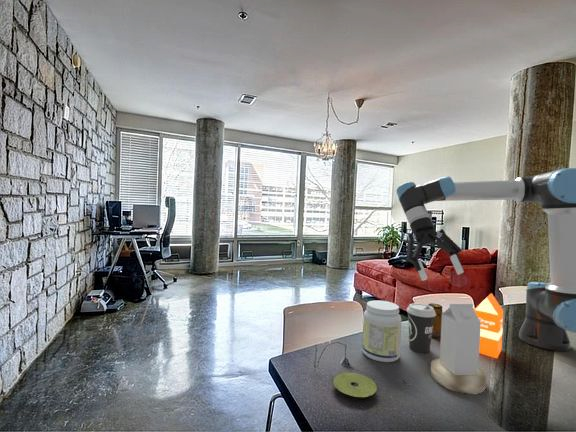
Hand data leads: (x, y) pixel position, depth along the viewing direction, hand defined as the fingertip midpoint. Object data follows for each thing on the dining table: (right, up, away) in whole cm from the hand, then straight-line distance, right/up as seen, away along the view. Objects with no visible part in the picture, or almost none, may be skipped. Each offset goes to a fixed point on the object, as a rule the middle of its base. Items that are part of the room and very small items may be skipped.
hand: (443, 276), depth 103 cm
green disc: (-35, -26, -22) cm, 49 cm away
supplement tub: (-21, -26, -1) cm, 34 cm away
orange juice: (+18, -28, +5) cm, 33 cm away
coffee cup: (-6, -27, +5) cm, 28 cm away
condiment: (+6, -27, +17) cm, 32 cm away
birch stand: (-4, -27, -15) cm, 31 cm away
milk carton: (-3, -24, -15) cm, 28 cm away
